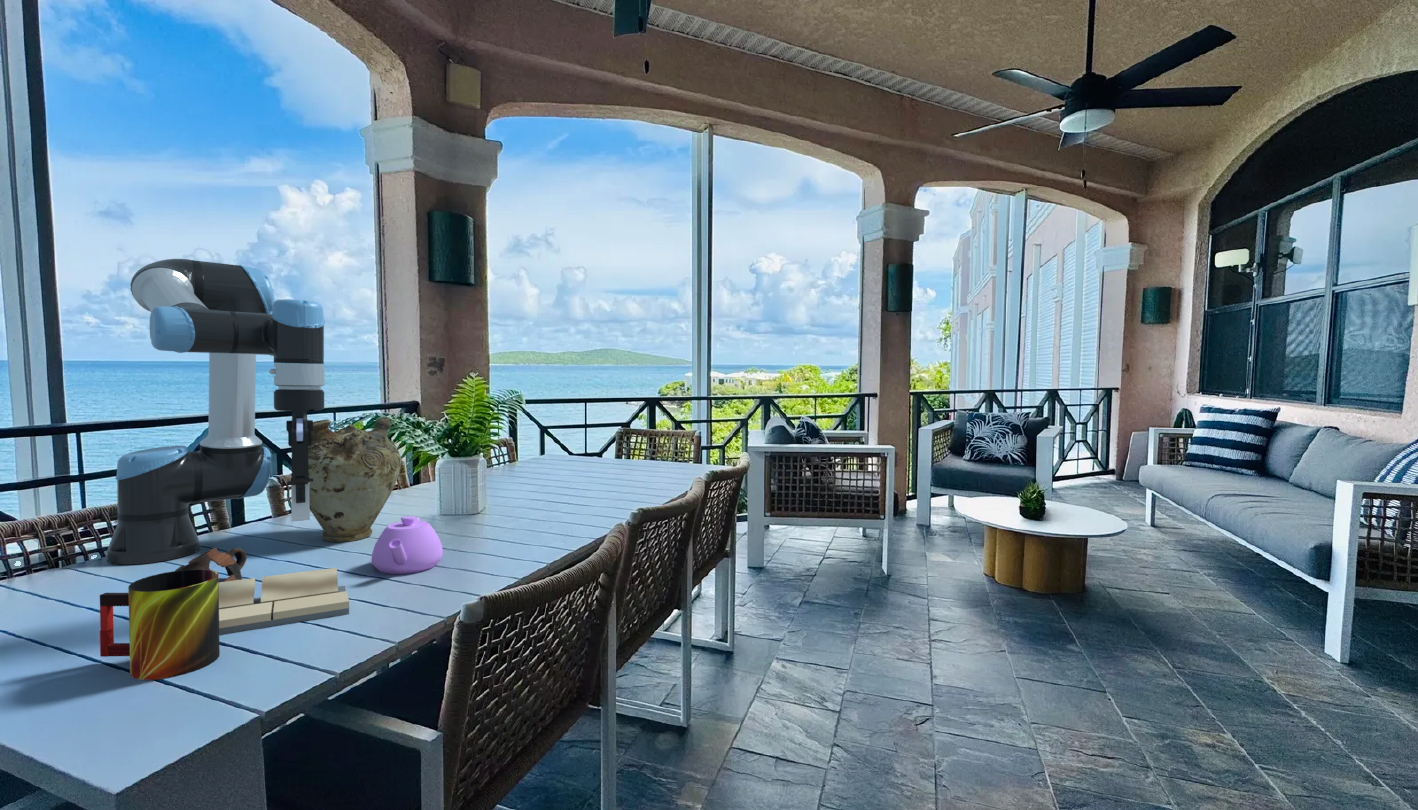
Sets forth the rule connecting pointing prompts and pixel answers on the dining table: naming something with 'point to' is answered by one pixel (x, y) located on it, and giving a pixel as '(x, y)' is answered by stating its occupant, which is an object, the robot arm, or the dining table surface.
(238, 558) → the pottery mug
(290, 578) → the plank far
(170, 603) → the mug
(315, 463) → the vase
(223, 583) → the plank near
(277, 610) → the floor panel
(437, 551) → the teapot
